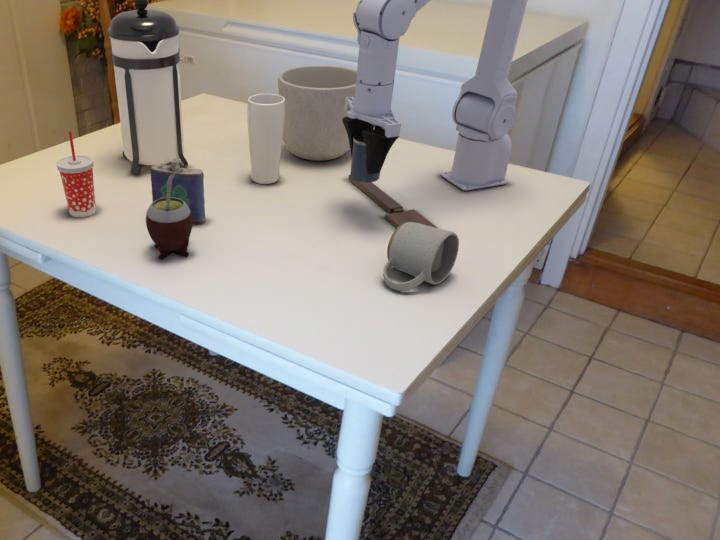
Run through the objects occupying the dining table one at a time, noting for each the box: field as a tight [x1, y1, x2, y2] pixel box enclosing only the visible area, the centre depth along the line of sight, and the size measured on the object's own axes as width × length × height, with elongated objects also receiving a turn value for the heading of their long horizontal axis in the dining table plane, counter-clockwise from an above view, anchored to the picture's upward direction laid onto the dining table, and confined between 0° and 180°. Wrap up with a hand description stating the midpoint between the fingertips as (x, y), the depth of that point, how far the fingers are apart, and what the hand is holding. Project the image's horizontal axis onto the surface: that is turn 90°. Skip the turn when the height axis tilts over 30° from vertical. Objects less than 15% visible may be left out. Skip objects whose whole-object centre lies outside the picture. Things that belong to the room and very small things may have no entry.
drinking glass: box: [246, 93, 285, 185], centre depth 125 cm, size 7×7×15 cm
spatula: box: [348, 174, 438, 229], centre depth 120 cm, size 6×26×1 cm, turn 19°
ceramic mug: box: [382, 222, 460, 292], centre depth 98 cm, size 11×8×8 cm
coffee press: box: [107, 0, 189, 176], centre depth 129 cm, size 17×16×30 cm
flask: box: [149, 158, 206, 225], centre depth 113 cm, size 9×3×11 cm, turn 74°
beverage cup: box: [55, 130, 97, 218], centre depth 115 cm, size 6×6×14 cm
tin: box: [349, 133, 381, 183], centre depth 111 cm, size 5×5×6 cm
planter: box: [277, 64, 357, 162], centre depth 136 cm, size 17×17×15 cm
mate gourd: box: [145, 173, 194, 261], centre depth 102 cm, size 8×8×15 cm
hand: (365, 166), depth 112 cm, fingers closed on tin, 5 cm apart
